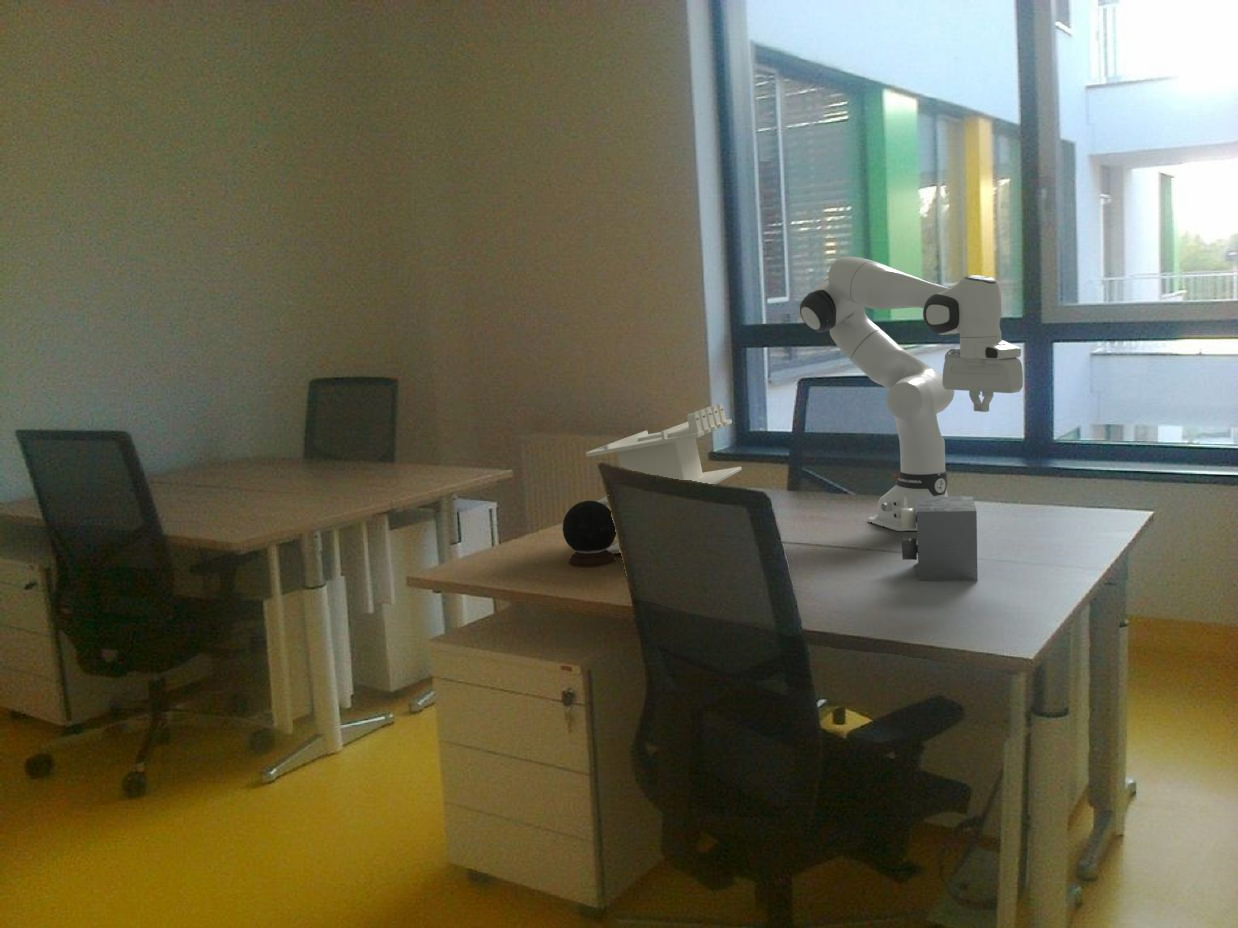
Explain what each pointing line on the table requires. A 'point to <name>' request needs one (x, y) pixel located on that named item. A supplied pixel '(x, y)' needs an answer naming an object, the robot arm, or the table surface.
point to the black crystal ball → (589, 534)
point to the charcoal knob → (909, 549)
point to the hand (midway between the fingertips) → (981, 411)
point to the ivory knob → (909, 518)
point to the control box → (947, 539)
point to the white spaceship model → (670, 451)
